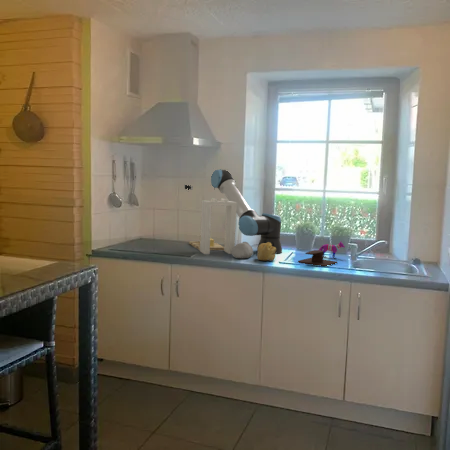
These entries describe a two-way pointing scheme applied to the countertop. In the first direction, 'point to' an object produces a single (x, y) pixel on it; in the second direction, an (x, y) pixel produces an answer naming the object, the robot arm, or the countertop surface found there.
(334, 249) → the toy dog
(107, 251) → the countertop surface
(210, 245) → the bar
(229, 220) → the bridge
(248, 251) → the decorative stone
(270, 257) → the stone
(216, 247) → the board
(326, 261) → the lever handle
